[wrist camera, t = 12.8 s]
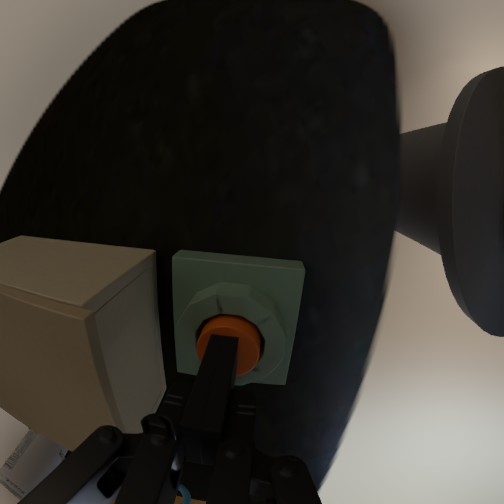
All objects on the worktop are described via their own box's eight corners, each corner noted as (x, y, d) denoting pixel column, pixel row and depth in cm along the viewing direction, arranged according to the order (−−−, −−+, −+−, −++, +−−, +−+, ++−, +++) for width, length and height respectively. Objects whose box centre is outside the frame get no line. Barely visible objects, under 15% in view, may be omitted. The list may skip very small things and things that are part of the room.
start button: (263, 314, 16) (262, 330, 15) (257, 362, 17) (256, 380, 16) (202, 308, 16) (195, 322, 15) (202, 356, 17) (196, 372, 16)
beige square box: (156, 249, 18) (81, 305, 10) (166, 388, 22) (132, 465, 13) (21, 235, 19) (-50, 263, 10) (45, 351, 22) (-2, 397, 14)
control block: (302, 260, 18) (309, 280, 15) (284, 371, 20) (285, 402, 17) (180, 249, 18) (161, 265, 15) (182, 359, 21) (170, 387, 17)
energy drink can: (67, 442, 28) (28, 506, 14) (38, 415, 27) (-7, 476, 13) (81, 437, 27) (37, 510, 12) (48, 408, 26) (-4, 477, 11)
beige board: (94, 310, 10) (83, 319, 9) (142, 470, 13) (139, 479, 12) (-50, 263, 10) (-57, 267, 10) (-2, 397, 14) (-7, 402, 13)
